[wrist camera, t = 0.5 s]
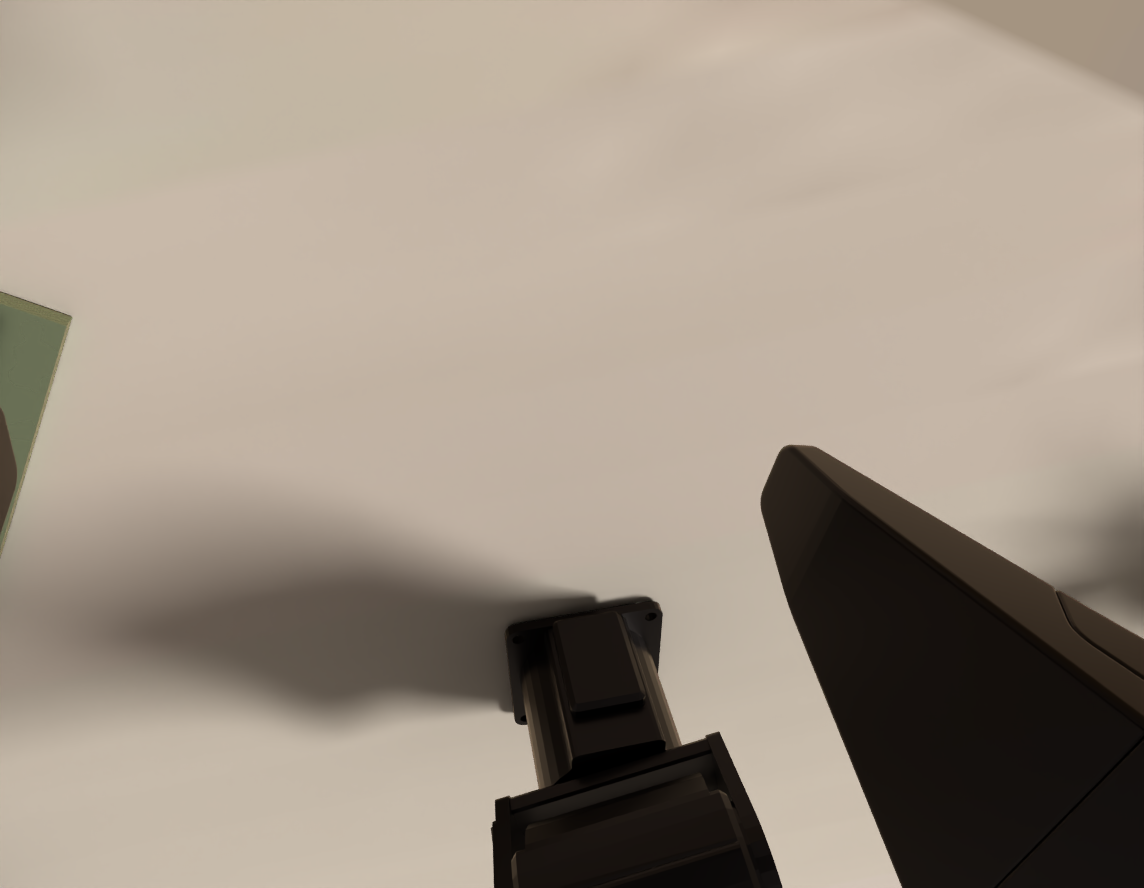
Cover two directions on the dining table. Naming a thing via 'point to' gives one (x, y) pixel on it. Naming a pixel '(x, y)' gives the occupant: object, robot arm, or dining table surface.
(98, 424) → the dining table surface
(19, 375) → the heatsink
